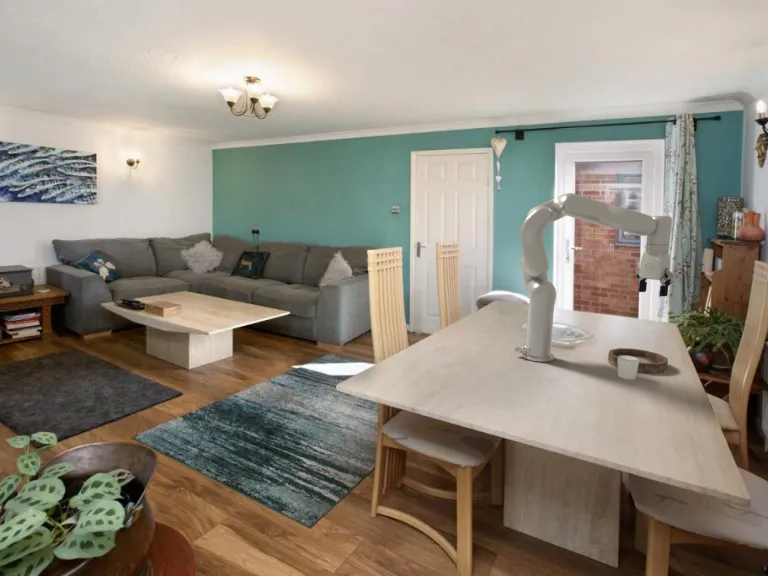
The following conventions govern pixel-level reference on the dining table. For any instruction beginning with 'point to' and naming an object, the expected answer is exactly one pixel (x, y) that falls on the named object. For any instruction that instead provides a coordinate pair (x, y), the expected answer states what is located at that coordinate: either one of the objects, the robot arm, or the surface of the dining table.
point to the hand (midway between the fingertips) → (652, 293)
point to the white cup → (627, 366)
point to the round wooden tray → (641, 359)
